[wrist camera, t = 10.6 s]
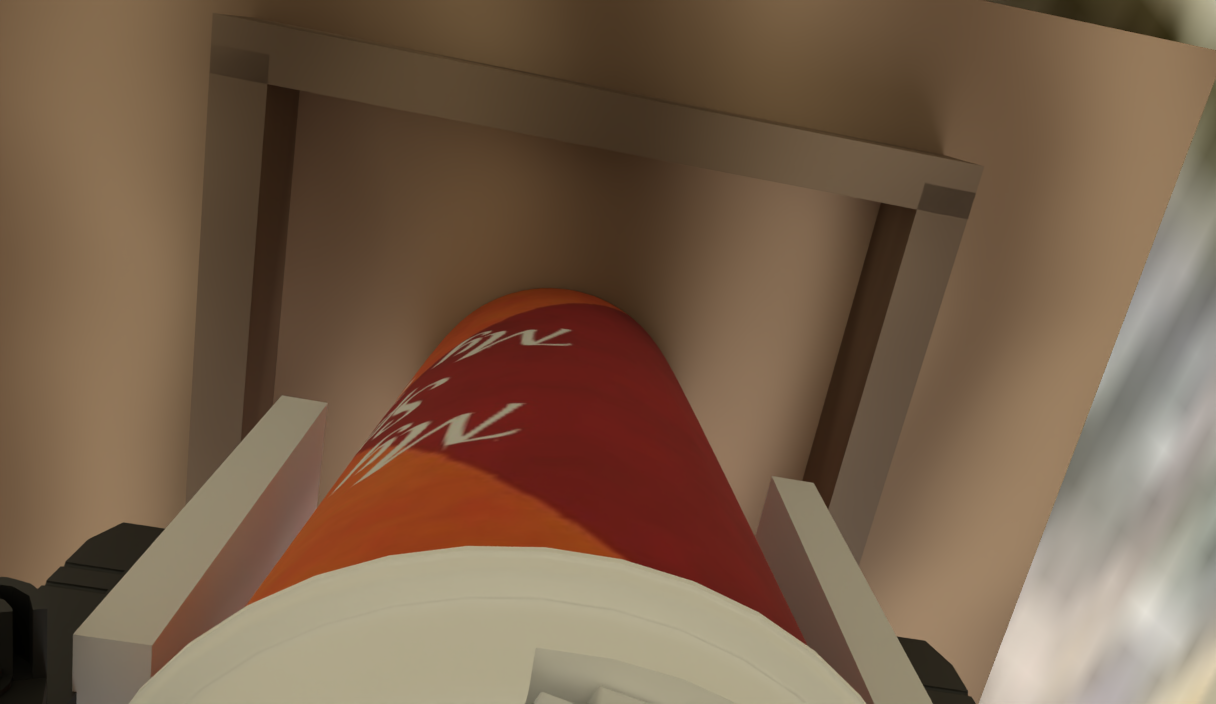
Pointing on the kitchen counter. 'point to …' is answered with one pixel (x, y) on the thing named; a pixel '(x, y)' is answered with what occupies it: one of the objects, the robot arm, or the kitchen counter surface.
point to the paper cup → (520, 545)
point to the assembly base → (587, 244)
